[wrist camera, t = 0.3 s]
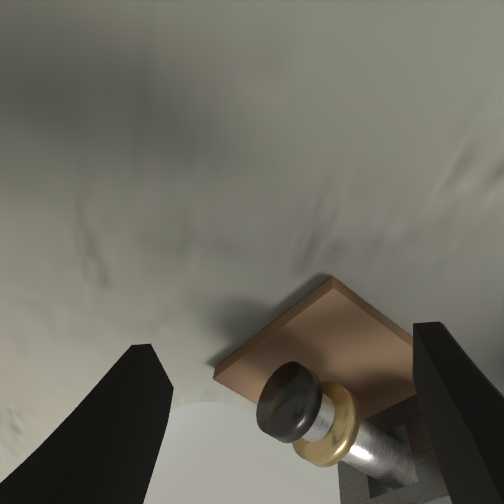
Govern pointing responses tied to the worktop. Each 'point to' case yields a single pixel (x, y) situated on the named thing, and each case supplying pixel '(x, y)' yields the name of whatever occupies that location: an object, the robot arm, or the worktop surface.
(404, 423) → the block
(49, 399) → the worktop surface
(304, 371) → the shaft
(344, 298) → the base board
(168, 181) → the worktop surface
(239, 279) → the worktop surface
